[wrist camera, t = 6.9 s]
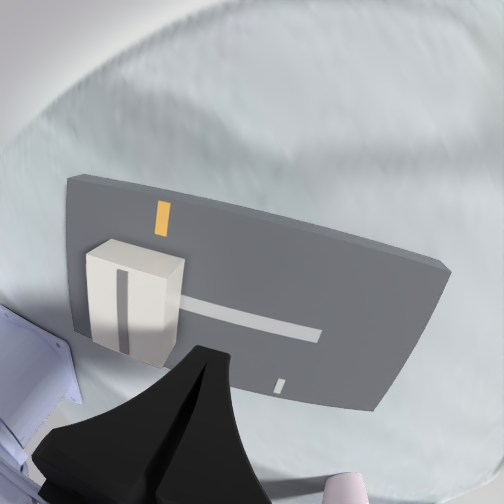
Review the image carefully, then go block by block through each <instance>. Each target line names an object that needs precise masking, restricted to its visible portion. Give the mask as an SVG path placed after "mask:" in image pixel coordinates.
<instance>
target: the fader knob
mask: <svg viewBox="0 0 504 504" xmlns="http://www.w3.org/2000/svg"><path fill="white" fill-rule="evenodd" d="M184 263H185V259H183V258H179V257H175V256H172V255H168V254H164V253H161V252H157V251H153V250H150V249H146V248H142V247H139V246H135V245H132V244H128V243H124V242H121V241H117V240H114V239H110V240H108V241H107V242H105V243H103V244H102V245H100V246H98V247H97V248H95V249H93V250H92V251H90V252H88V253H87V254H86V268H87V289H88V303H89V314H90V324H91V333H92V341H93V342H94V343H97V344H99V345H101V346H104V347H106V348H109V349H111V350H113V351H116V352H118V353H121V354H123V355H126V356H128V357H131V358H134V359H136V360H139V361H142V362H144V363H147V364H150V365H153V366H155V367H158V368H162V367H163V365H164V363H165V361H166V360H167V358H168V356H169V354H170V353H171V351H172V349H173V347H174V346H175V344H176V336H177V325H178V315H179V305H180V296H181V287H182V279H183V270H184Z"/></svg>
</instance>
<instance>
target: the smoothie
mask: <svg viewBox="0 0 504 504" xmlns="http://www.w3.org/2000/svg"><path fill="white" fill-rule="evenodd" d="M322 504H369V501H368V497H367V493H366V489H365V485H364V481H363V477H362V475H361V474H359V473H353V472H349V473H341V474H337V475H334V476H331V477H329V478H328V479H327V480H326V482H325V489H324V495H323V501H322Z"/></svg>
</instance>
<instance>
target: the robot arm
mask: <svg viewBox="0 0 504 504" xmlns="http://www.w3.org/2000/svg"><path fill="white" fill-rule="evenodd" d="M230 359H231V356H230V354H229V353H226V352H222V351H218V350H215V349H211V348H207V347H204V346H200V345H196V346H194V347H193V349H192V350H191V351H190V352H189V353H188V354H187V355H186V356H185V357H184V358H183V359H182V360H181V361H180V362H179V363H178V364H177V365H176V366H175V367H174V368H173V369H172V370H170V371H169V372H168V373H167V374H166V375H165V376H163V377H162V378H161V379H160V380H158V381H157V382H156V383H154V384H153V385H152V386H150V387H149V388H148V389H146V390H145V391H143V392H142V393H140V394H139V395H137V396H136V397H134V398H132V399H131V400H129V401H127V402H125V403H123V404H122V405H120V406H118V407H116V408H114V409H112V410H110V411H107V412H105V413H103V414H100V415H98V416H95V417H92V418H90V419H87V420H85V421H81V422H78V423H75V424H71V425H68V426H64V427H59V428H55V429H52V430H51V431H50V432H49V434H48V435H46V436H45V438H44V439H43V440H42V441H41V443H40V444H39V445H38V447H37V448H36V450H35V451H34V452H33V454H32V461H33V462H34V464H35V465H36V467H37V468H38V469H39V470H40V472H41V473H42V474H43V475H44V477H45V478H46V481H45V482H44V484H43V485H42V487H41V486H40V485H38V484H37V483H35V482H34V481H32V480H31V479H30V478H29V475H28V466H27V463H26V462H25V460H26V459H27V457H28V454H27V453H26V452H25V451H24V448H25V447H26V445H27V444H28V443H29V441H30V440H31V439H32V437H33V436H34V435H35V433H36V432H37V431H38V429H39V428H40V427H41V425H42V424H43V423H44V421H45V420H46V419H47V417H48V416H49V415H50V413H51V412H52V411H53V410H54V408H55V407H56V406H57V405H58V403H59V402H60V401H61V399H62V398H63V397H65V398H67V399H69V400H71V401H73V402H74V403H76V404H78V405H81V404H82V403H83V401H82V397H81V394H80V390H79V386H78V382H77V379H76V375H75V370H74V366H73V362H72V357H71V352H70V348H69V345H68V344H67V342H65V341H64V340H62V339H60V338H58V337H56V336H54V335H52V334H50V333H48V332H46V331H45V330H43V329H41V328H39V327H37V326H35V325H34V324H32V323H30V322H28V321H27V320H25V319H23V318H22V317H20V316H18V315H17V314H15V313H13V312H12V311H10V310H8V309H7V308H5V307H4V306H2V305H0V504H37V502H38V503H39V504H272V503H271V501H270V500H269V498H268V496H267V495H266V493H265V491H264V490H263V488H262V486H261V485H260V483H259V481H258V479H257V477H256V475H255V473H254V471H253V469H252V466H251V464H250V462H249V460H248V457H247V455H246V452H245V450H244V447H243V444H242V442H241V439H240V435H239V432H238V429H237V425H236V421H235V417H234V412H233V407H232V401H231V393H230V384H229V365H230Z"/></svg>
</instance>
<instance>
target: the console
mask: <svg viewBox="0 0 504 504" xmlns="http://www.w3.org/2000/svg"><path fill="white" fill-rule="evenodd" d="M110 239H114V240H117V241H121V242H124V243H128V244H132V245H135V246H139V247H142V248H146V249H150V250H153V251H157V252H161V253H164V254H168V255H172V256H175V257H179V258H183V259H185V263H184V270H183V279H182V287H181V296H180V305H179V315H178V325H177V336H176V344H175V346H174V347H173V349H172V351H171V353H170V354H169V356H168V358H167V360H166V361H165V363H164V365H163V367H166V368H169V369H173V368H174V367H175V366H176V365H177V364H178V363H179V362H180V361H181V360H182V359H183V358H184V357H185V356H186V355H187V354H188V353H189V352H190V351H191V350H192V349H193V347H194V346H196V345H200V346H204V347H207V348H211V349H215V350H218V351H222V352H226V353H229V354H230V356H231V359H230V365H229V384H230V387H234V388H238V389H242V390H246V391H251V392H255V393H259V394H264V395H268V396H273V397H278V398H283V399H288V400H293V401H299V402H305V403H311V404H317V405H323V406H330V407H337V408H345V409H354V410H363V411H374V409H375V408H376V407H377V405H378V404H379V402H380V401H381V400H382V398H383V397H384V395H385V394H386V392H387V391H388V389H389V388H390V386H391V385H392V383H393V382H394V380H395V379H396V377H397V376H398V374H399V372H400V371H401V369H402V368H403V366H404V364H405V363H406V361H407V359H408V358H409V356H410V354H411V352H412V351H413V349H414V347H415V346H416V344H417V342H418V340H419V338H420V337H421V335H422V333H423V331H424V329H425V327H426V325H427V323H428V321H429V320H430V318H431V316H432V314H433V312H434V310H435V308H436V305H437V303H438V301H439V299H440V297H441V295H442V293H443V291H444V288H445V286H446V284H447V282H448V279H449V277H450V275H451V271H450V270H449V269H448V268H447V267H446V266H445V265H444V264H443V263H442V262H441V261H439V260H436V259H433V258H430V257H427V256H423V255H420V254H417V253H414V252H410V251H407V250H404V249H400V248H397V247H394V246H390V245H387V244H383V243H380V242H376V241H373V240H369V239H366V238H362V237H359V236H355V235H351V234H348V233H344V232H341V231H337V230H333V229H329V228H326V227H322V226H318V225H314V224H310V223H307V222H303V221H299V220H295V219H291V218H287V217H283V216H279V215H275V214H271V213H267V212H263V211H259V210H254V209H250V208H246V207H242V206H238V205H233V204H229V203H225V202H220V201H216V200H211V199H207V198H202V197H198V196H193V195H188V194H184V193H179V192H174V191H169V190H165V189H160V188H155V187H150V186H145V185H140V184H135V183H129V182H124V181H119V180H113V179H108V178H103V177H97V176H91V175H86V174H83V175H78V176H74V177H70V178H67V197H66V248H67V268H68V282H69V292H70V302H71V310H72V318H73V325H74V331H76V332H78V333H80V334H82V335H85V336H87V337H89V338H91V339H92V333H91V324H90V314H89V303H88V289H87V268H86V254H87V253H88V252H90V251H92V250H93V249H95V248H97V247H98V246H100V245H102V244H103V243H105V242H107V241H108V240H110Z"/></svg>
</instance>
